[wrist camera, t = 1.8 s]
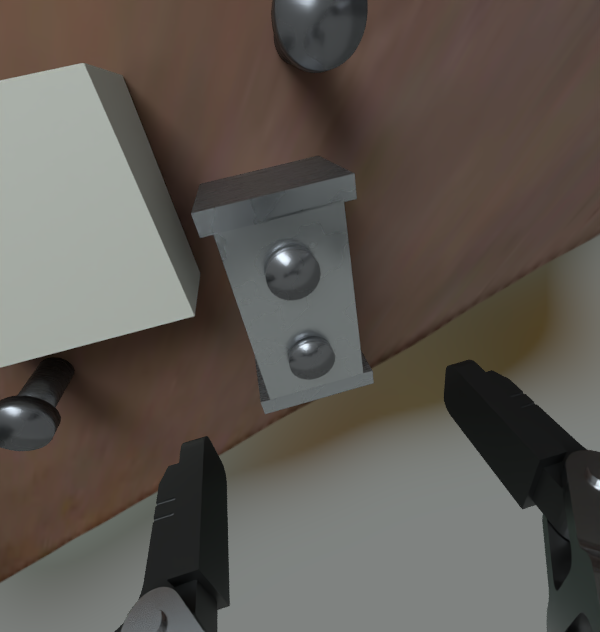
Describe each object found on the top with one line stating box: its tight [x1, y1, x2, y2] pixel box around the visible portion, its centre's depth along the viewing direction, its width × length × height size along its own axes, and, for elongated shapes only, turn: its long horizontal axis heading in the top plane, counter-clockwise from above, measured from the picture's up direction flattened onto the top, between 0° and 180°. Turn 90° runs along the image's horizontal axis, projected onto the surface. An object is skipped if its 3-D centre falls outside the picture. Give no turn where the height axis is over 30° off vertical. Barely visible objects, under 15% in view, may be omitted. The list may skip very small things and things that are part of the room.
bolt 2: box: [271, 0, 367, 73], centre depth 13 cm, size 3×3×5 cm
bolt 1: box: [0, 358, 74, 451], centre depth 20 cm, size 3×3×5 cm
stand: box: [0, 63, 200, 367], centre depth 15 cm, size 13×10×5 cm
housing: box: [191, 156, 374, 414], centre depth 19 cm, size 7×12×7 cm, turn 12°
